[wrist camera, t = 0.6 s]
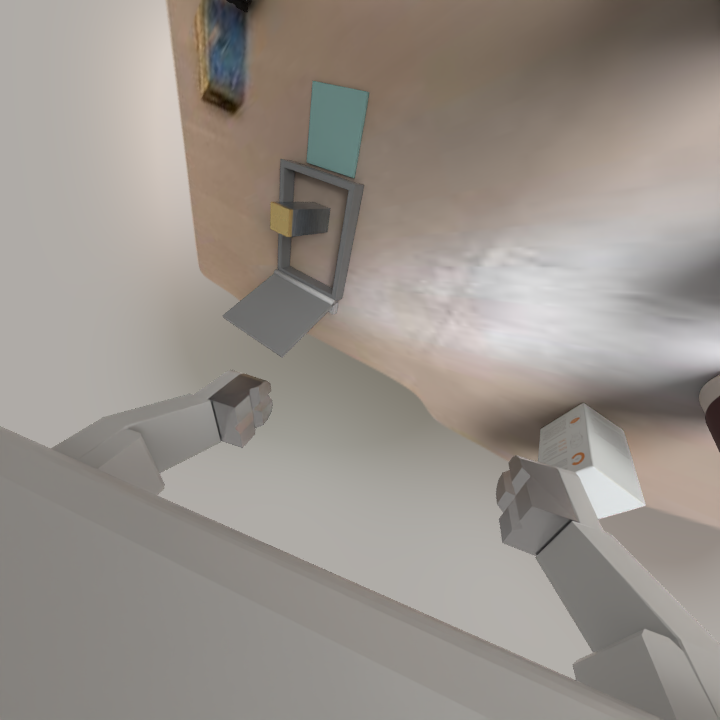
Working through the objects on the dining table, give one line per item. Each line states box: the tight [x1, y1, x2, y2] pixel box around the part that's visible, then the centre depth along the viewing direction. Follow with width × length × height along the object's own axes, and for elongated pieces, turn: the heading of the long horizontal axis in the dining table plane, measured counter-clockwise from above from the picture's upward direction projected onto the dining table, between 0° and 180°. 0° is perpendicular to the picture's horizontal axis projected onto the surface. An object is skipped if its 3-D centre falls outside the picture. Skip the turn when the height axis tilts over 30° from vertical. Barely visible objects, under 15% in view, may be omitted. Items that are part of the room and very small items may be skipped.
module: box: [270, 202, 330, 237], centre depth 46 cm, size 4×4×10 cm
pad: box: [307, 81, 369, 178], centre depth 41 cm, size 10×10×1 cm
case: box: [223, 159, 364, 357], centre depth 48 cm, size 27×16×16 cm, turn 165°
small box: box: [538, 403, 646, 519], centre depth 36 cm, size 8×6×13 cm
